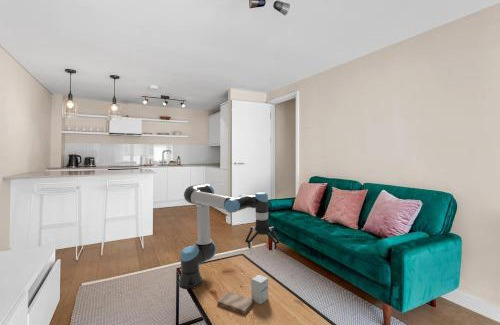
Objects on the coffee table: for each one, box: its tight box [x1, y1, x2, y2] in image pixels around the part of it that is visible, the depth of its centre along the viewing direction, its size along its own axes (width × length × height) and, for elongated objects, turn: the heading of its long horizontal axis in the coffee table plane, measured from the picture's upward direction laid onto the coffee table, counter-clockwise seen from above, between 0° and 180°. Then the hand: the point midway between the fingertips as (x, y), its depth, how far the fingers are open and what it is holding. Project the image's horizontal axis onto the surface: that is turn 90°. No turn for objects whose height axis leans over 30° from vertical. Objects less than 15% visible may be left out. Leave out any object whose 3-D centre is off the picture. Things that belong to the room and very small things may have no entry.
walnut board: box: [217, 291, 255, 315], centre depth 140 cm, size 18×11×2 cm, turn 60°
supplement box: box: [250, 274, 269, 305], centre depth 144 cm, size 7×7×13 cm
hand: (262, 254), depth 146 cm, fingers open, 13 cm apart
